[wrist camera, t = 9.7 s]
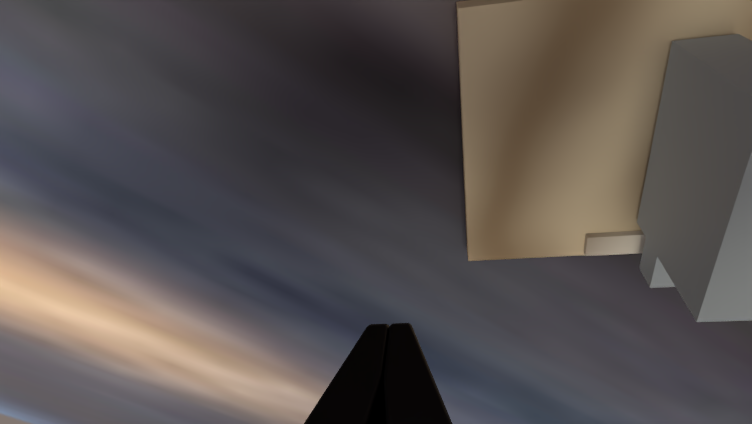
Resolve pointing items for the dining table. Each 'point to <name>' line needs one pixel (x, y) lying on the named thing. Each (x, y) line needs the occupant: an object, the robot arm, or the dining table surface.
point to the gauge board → (567, 116)
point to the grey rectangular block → (702, 180)
